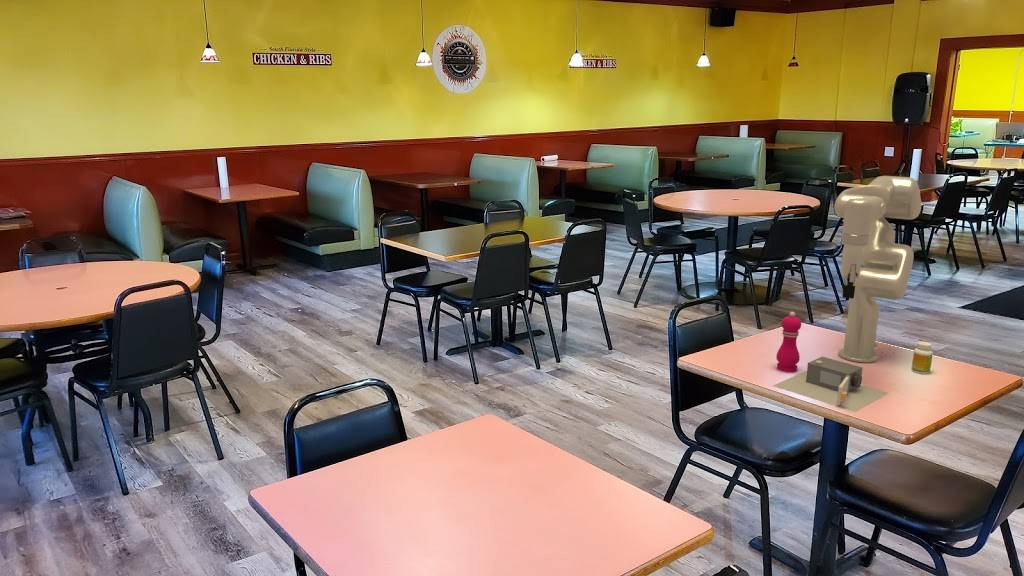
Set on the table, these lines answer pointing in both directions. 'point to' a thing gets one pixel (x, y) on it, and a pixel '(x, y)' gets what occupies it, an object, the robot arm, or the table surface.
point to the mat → (831, 393)
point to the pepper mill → (789, 344)
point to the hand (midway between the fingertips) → (847, 297)
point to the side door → (843, 390)
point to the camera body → (833, 373)
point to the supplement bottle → (922, 358)
